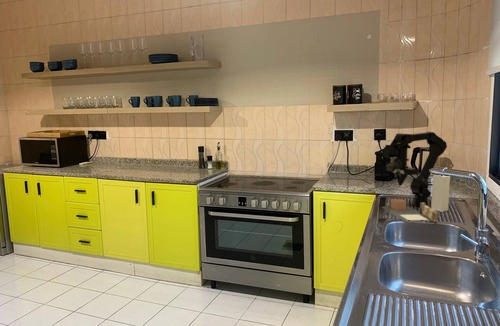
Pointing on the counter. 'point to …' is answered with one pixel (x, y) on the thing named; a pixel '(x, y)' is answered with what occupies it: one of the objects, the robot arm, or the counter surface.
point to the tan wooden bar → (429, 213)
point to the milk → (440, 193)
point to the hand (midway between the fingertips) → (400, 185)
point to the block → (398, 204)
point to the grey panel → (408, 215)
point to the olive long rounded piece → (389, 208)
